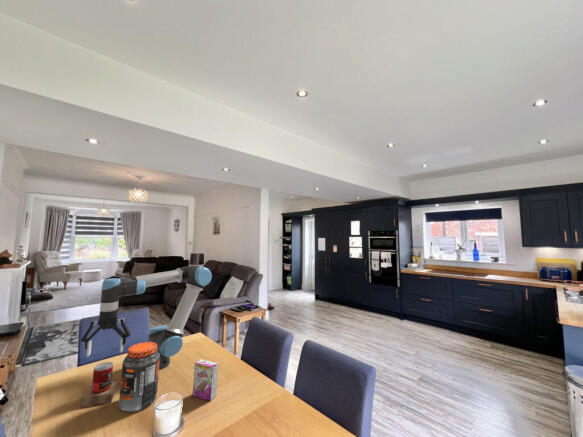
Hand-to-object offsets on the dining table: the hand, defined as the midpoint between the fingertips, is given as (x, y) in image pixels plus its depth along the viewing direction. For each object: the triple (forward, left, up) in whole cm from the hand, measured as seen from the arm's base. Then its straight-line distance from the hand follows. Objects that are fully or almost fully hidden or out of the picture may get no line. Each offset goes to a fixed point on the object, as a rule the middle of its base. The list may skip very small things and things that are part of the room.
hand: (105, 353), depth 123 cm
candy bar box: (-48, +15, -21) cm, 54 cm away
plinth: (0, 0, -21) cm, 21 cm away
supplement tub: (-18, +10, -21) cm, 29 cm away
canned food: (0, 0, -17) cm, 17 cm away
